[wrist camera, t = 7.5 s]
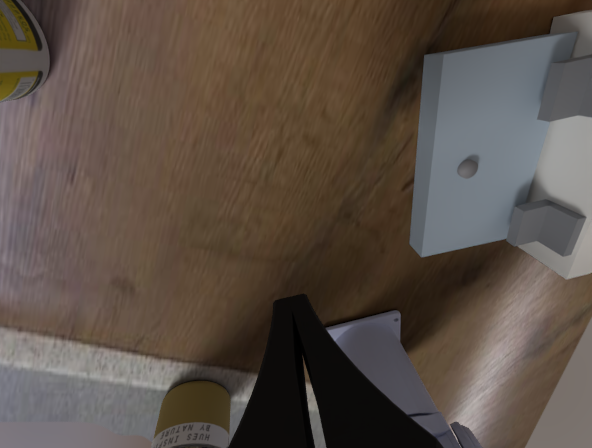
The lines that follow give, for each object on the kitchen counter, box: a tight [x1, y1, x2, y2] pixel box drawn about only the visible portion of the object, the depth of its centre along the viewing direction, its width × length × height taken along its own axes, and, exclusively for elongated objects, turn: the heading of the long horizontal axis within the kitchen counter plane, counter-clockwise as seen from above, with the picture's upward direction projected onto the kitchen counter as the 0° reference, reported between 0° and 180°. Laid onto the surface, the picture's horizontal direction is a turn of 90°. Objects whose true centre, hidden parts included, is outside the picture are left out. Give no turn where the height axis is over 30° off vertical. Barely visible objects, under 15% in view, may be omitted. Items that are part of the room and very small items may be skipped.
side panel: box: [506, 10, 592, 279], centre depth 19 cm, size 16×4×6 cm, turn 10°
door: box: [409, 32, 578, 257], centre depth 20 cm, size 14×8×3 cm, turn 8°
